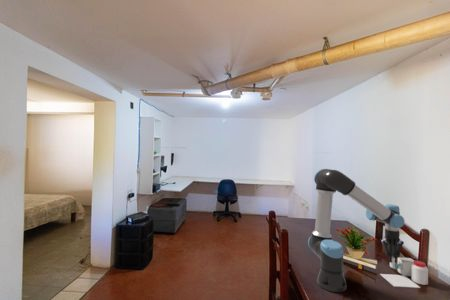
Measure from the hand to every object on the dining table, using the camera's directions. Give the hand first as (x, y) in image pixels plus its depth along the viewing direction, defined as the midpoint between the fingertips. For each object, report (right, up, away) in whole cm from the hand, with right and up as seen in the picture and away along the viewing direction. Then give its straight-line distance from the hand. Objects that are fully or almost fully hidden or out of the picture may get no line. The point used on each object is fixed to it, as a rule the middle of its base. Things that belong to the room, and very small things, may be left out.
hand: (392, 267), depth 152 cm
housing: (+9, -4, -1) cm, 10 cm away
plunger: (+6, -1, -1) cm, 6 cm away
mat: (-3, -3, -10) cm, 11 cm away
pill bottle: (+9, -4, -10) cm, 14 cm away
